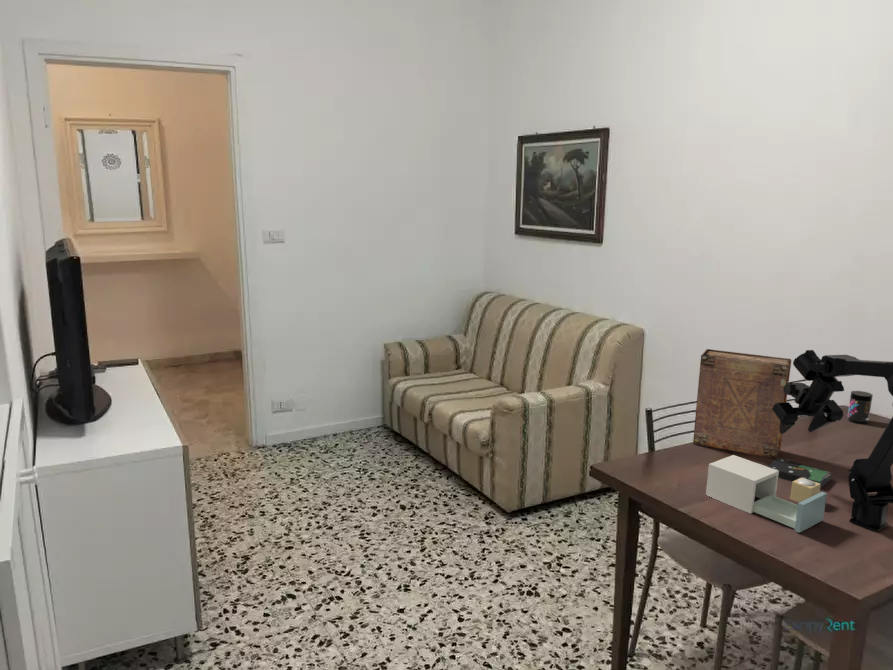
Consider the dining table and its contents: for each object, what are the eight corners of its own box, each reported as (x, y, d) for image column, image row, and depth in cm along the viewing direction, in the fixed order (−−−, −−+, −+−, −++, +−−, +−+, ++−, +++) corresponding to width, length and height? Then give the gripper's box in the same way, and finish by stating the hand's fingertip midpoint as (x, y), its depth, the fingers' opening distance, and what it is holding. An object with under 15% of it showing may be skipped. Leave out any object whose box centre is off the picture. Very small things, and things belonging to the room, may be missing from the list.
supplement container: (850, 416, 250) (854, 389, 248) (870, 421, 246) (875, 393, 243) (844, 420, 246) (848, 393, 244) (865, 425, 241) (869, 397, 239)
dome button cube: (818, 501, 181) (820, 483, 180) (808, 506, 178) (811, 487, 177) (799, 494, 185) (801, 476, 184) (789, 499, 182) (792, 481, 181)
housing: (774, 502, 180) (778, 470, 178) (750, 513, 173) (754, 481, 171) (729, 485, 190) (733, 454, 188) (705, 495, 184) (708, 463, 182)
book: (780, 450, 216) (792, 359, 210) (778, 460, 209) (790, 365, 202) (697, 435, 229) (706, 348, 222) (692, 444, 221) (701, 354, 214)
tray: (822, 520, 170) (826, 493, 168) (799, 532, 163) (803, 505, 162) (772, 500, 180) (775, 475, 179) (748, 511, 174) (751, 485, 172)
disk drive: (764, 475, 198) (819, 491, 188) (765, 466, 198) (821, 481, 188) (777, 466, 206) (831, 480, 196) (778, 457, 205) (832, 471, 195)
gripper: (831, 371, 192) (807, 410, 202) (773, 373, 188) (751, 413, 198) (856, 398, 184) (830, 438, 193) (795, 402, 180) (771, 441, 190)
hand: (795, 431), depth 194 cm, fingers open, 9 cm apart
